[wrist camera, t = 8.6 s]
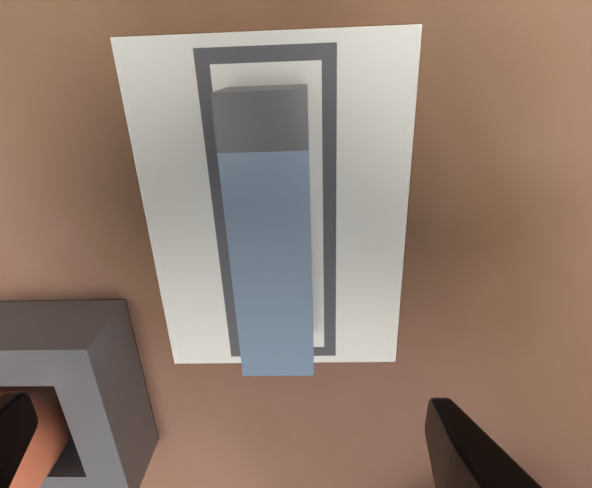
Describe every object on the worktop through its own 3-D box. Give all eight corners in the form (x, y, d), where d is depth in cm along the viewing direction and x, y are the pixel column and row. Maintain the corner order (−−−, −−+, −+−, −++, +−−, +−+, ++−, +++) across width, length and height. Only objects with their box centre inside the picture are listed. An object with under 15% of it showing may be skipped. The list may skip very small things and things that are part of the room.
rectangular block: (313, 332, 21) (314, 375, 18) (252, 333, 21) (242, 375, 18) (307, 83, 16) (307, 88, 13) (227, 86, 16) (210, 92, 14)
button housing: (158, 439, 25) (133, 503, 22) (1, 439, 26) (-50, 502, 22) (125, 299, 21) (86, 349, 17) (-62, 302, 22) (-138, 351, 18)
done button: (89, 444, 22) (45, 521, 18) (-2, 444, 22) (-63, 520, 19) (64, 371, 20) (9, 441, 16) (-35, 372, 20) (-112, 441, 17)
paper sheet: (394, 359, 22) (395, 362, 22) (175, 361, 23) (174, 364, 22) (420, 24, 16) (422, 24, 15) (112, 37, 16) (108, 37, 16)
